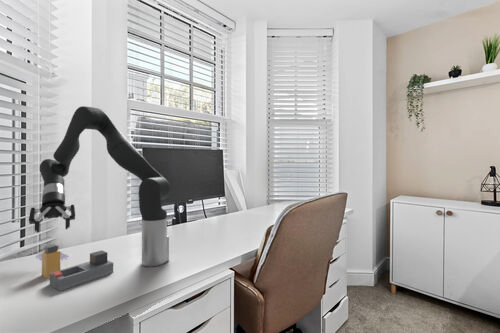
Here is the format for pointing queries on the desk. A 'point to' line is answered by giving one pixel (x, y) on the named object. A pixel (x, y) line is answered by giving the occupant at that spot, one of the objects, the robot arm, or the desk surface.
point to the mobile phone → (62, 256)
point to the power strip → (82, 271)
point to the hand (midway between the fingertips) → (52, 229)
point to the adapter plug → (50, 260)
